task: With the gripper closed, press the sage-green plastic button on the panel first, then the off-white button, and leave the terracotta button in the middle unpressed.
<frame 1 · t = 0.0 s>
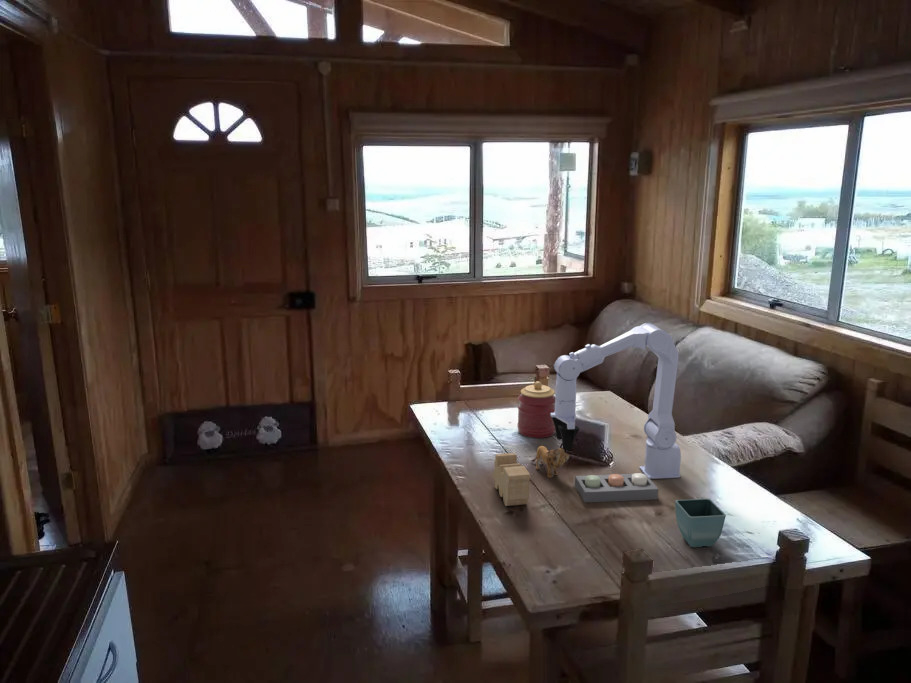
hand: (563, 444, 195), 10 cm above the table, fingers open, 7 cm apart
button panel: (615, 492, 188), on the table
terracotta button: (615, 482, 187), point 3 cm above the table, slide at 0.0 cm
flower pot: (696, 542, 163), on the table
canister: (536, 432, 232), on the table
lion figurine: (548, 472, 201), on the table
sage button: (592, 483, 186), point 3 cm above the table, slide at 0.0 cm
cream button: (639, 481, 188), point 3 cm above the table, slide at 0.0 cm
toy train: (510, 497, 186), on the table
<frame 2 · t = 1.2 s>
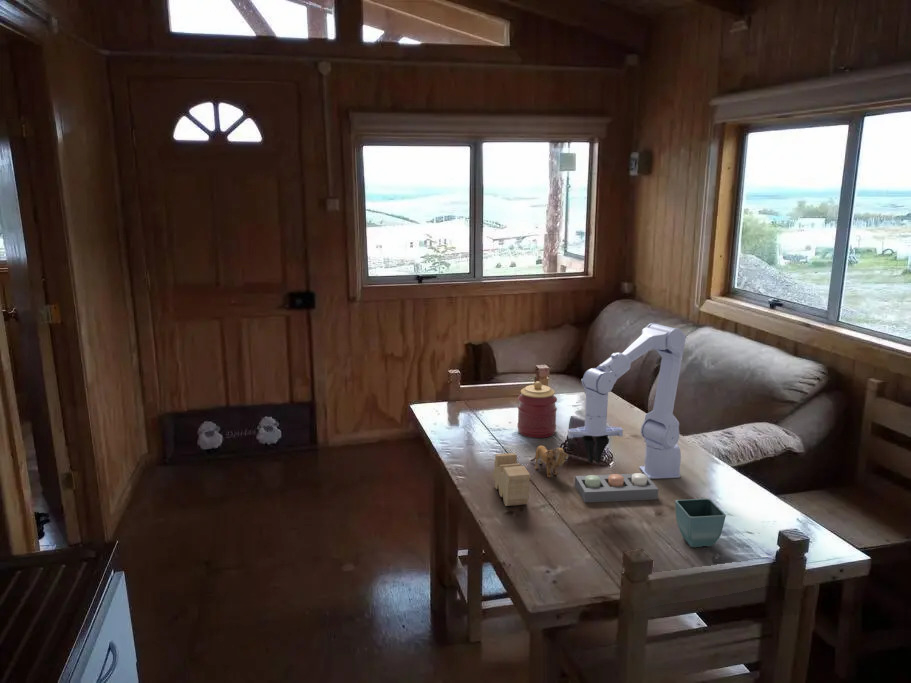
hand: (593, 461, 185), 9 cm above the table, fingers closed
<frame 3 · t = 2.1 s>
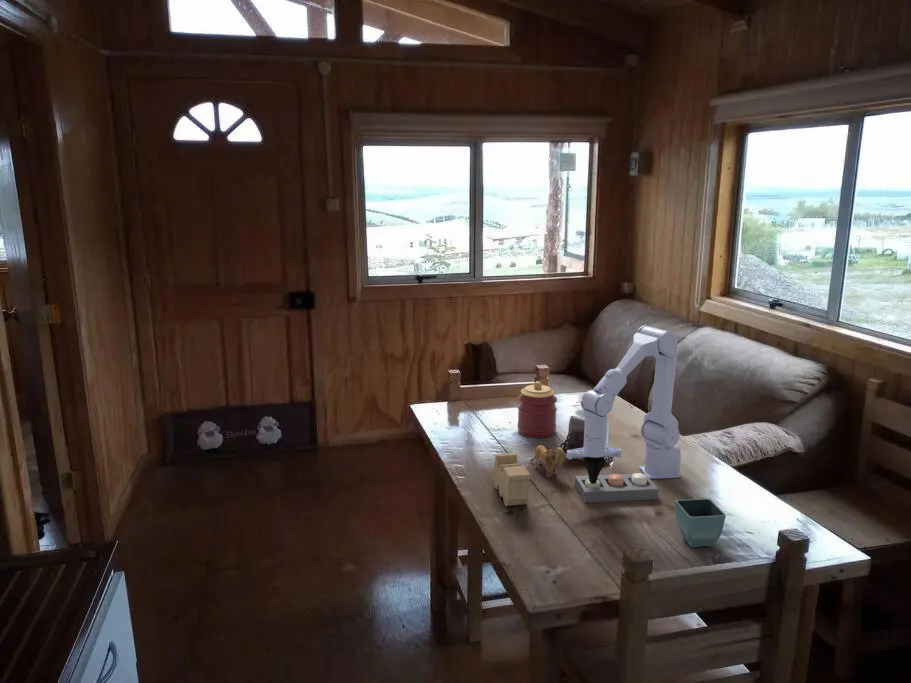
hand: (592, 482, 186), 3 cm above the table, fingers closed, pressing on sage button
sage button: (592, 487, 187), point 2 cm above the table, slide at 1.1 cm, touching gripper
everything else where it was.
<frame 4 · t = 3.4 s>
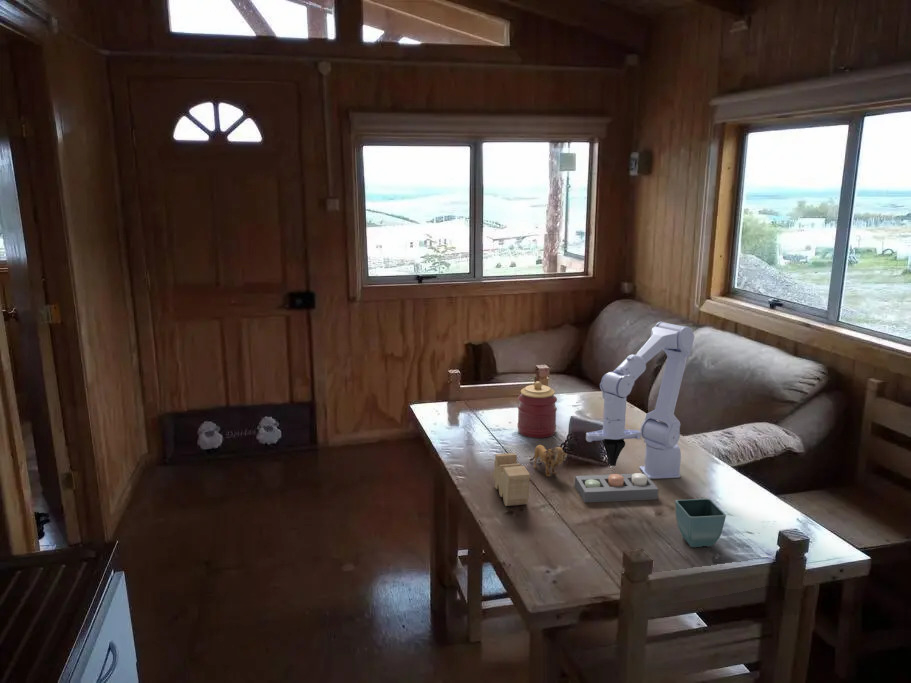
hand: (611, 464, 186), 8 cm above the table, fingers closed
sage button: (592, 487, 187), point 2 cm above the table, slide at 1.3 cm
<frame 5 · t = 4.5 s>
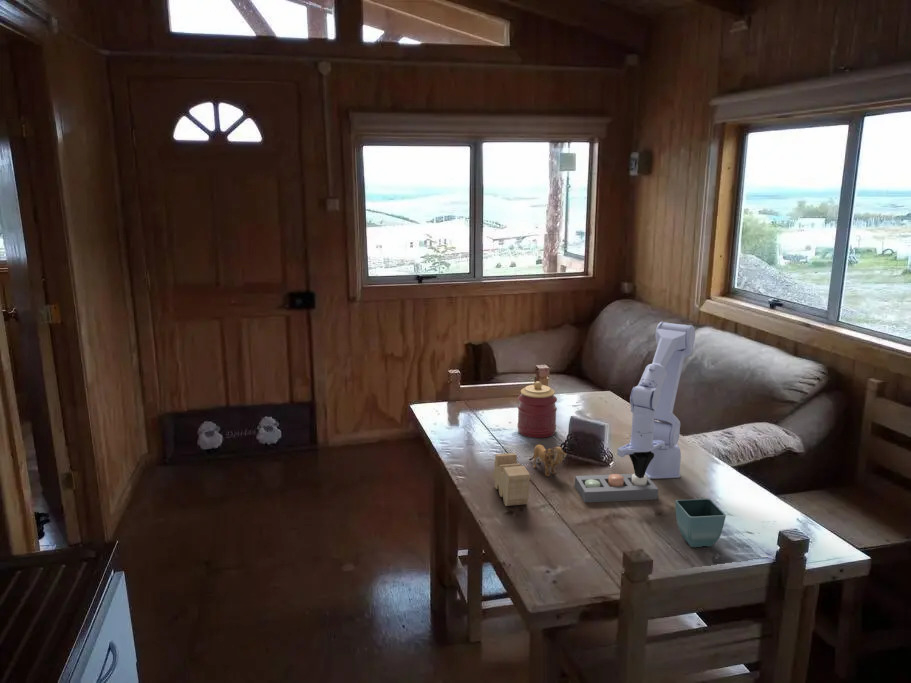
hand: (639, 476, 187), 4 cm above the table, fingers closed, pressing on cream button
cream button: (639, 481, 188), point 3 cm above the table, slide at 0.0 cm, touching gripper
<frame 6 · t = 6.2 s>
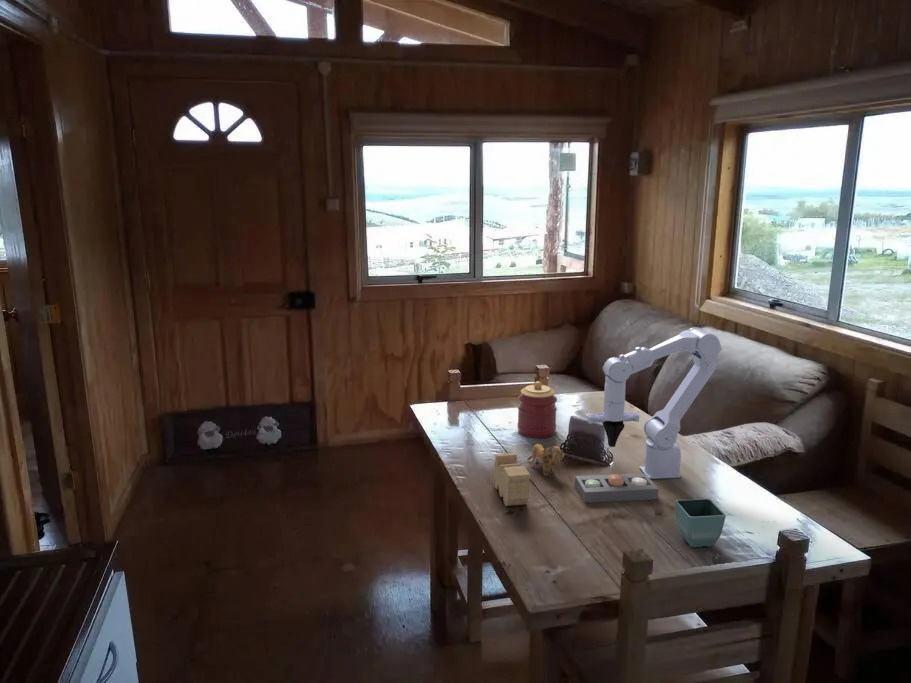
hand: (611, 445, 196), 9 cm above the table, fingers closed
cream button: (638, 485, 188), point 2 cm above the table, slide at 1.3 cm
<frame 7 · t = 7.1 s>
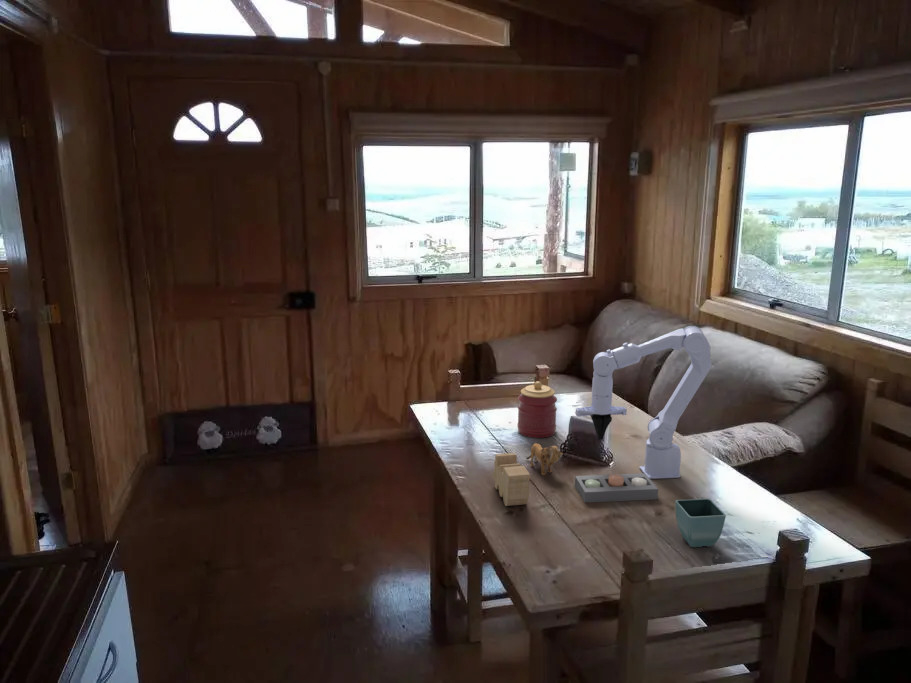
hand: (599, 438, 201), 9 cm above the table, fingers closed
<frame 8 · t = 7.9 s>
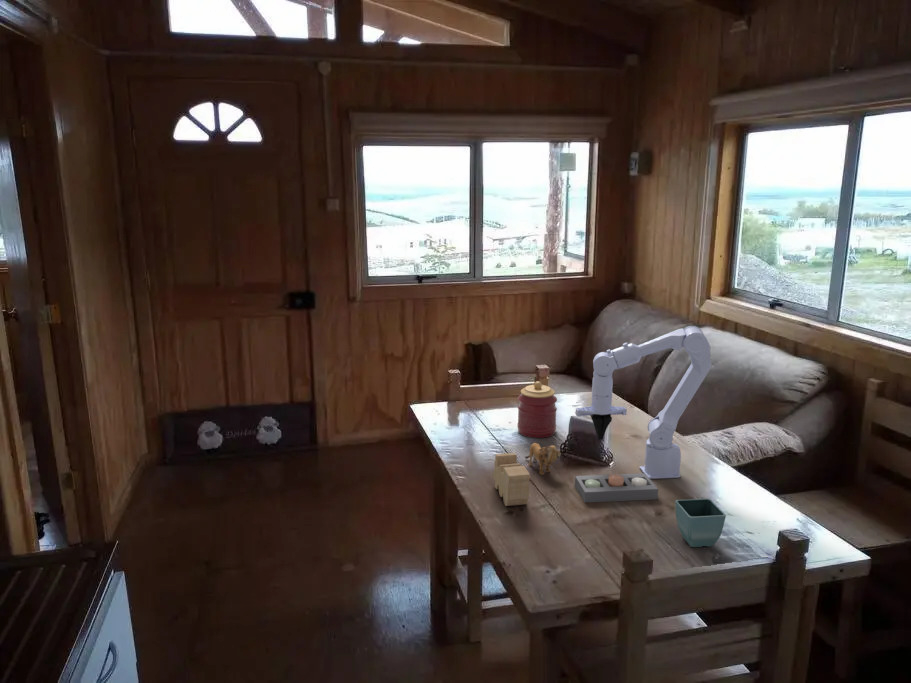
hand: (599, 438, 201), 9 cm above the table, fingers closed
at the end: sage button slide at 1.3 cm; cream button slide at 1.3 cm; terracotta button slide at 0.0 cm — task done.
